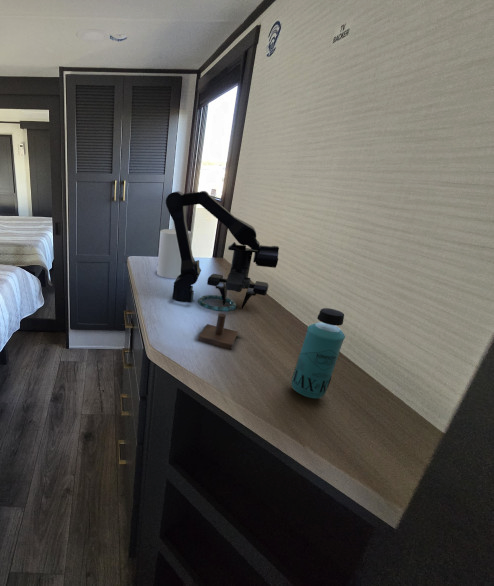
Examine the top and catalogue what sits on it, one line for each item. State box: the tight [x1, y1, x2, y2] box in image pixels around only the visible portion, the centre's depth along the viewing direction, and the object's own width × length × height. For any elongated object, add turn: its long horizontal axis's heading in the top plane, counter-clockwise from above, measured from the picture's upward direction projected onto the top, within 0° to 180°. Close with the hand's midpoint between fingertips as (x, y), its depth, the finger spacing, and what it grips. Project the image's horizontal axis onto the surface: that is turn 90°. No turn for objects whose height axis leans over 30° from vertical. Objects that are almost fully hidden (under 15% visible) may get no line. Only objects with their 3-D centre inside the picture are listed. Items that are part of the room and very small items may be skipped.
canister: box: [156, 228, 192, 280], centre depth 143 cm, size 14×14×20 cm
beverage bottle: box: [290, 307, 346, 399], centre depth 64 cm, size 6×7×20 cm
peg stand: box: [197, 312, 239, 350], centre depth 89 cm, size 9×9×8 cm
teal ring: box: [197, 294, 238, 312], centre depth 112 cm, size 13×13×2 cm
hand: (233, 306), depth 109 cm, fingers open, 6 cm apart
